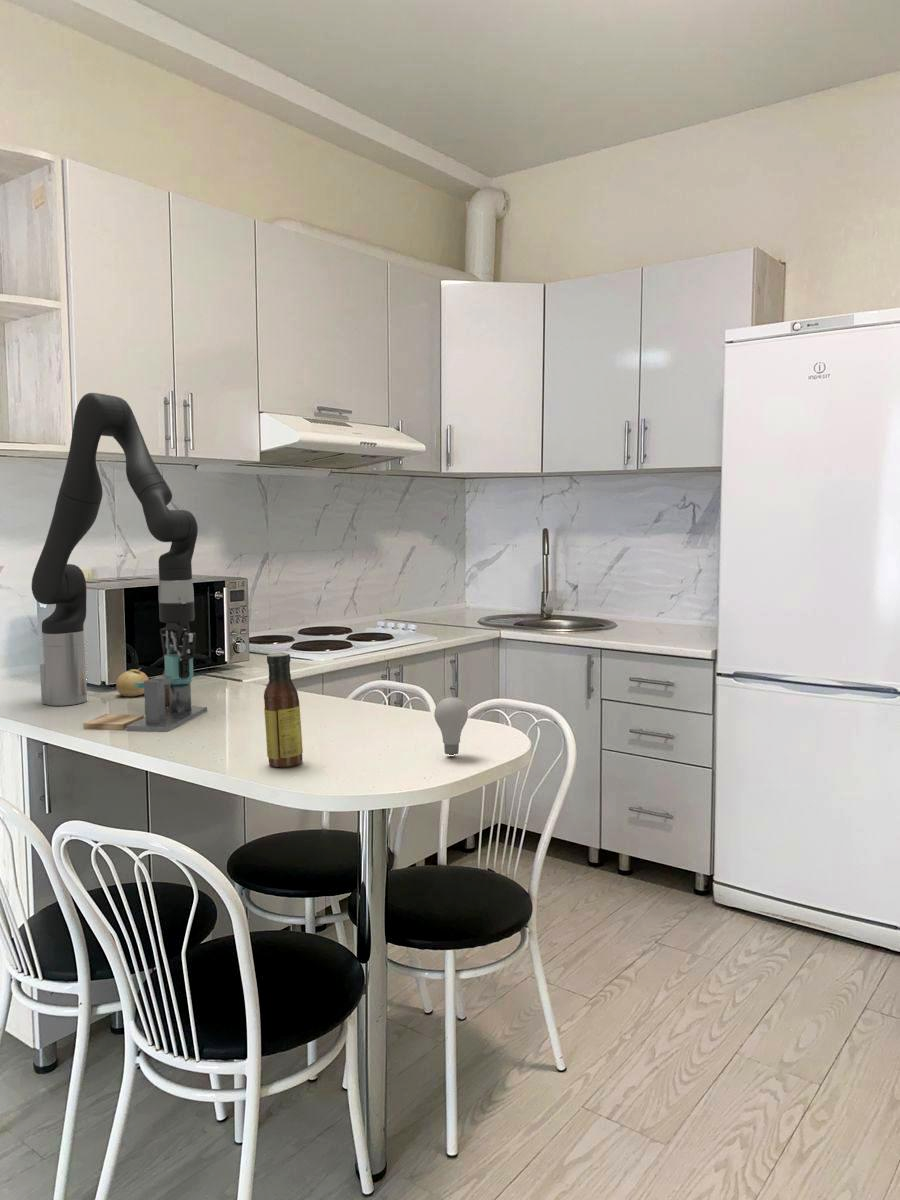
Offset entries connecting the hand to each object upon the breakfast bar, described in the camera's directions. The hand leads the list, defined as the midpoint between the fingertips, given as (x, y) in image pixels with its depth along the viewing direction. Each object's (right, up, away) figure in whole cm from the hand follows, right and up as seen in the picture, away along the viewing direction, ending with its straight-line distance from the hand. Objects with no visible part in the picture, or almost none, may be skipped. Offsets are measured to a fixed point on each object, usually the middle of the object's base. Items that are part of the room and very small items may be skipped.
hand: (179, 675), depth 205 cm
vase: (-5, -8, +12) cm, 15 cm away
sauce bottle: (+31, -13, -41) cm, 53 cm away
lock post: (-1, -9, -5) cm, 11 cm away
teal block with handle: (-3, -2, -2) cm, 4 cm away
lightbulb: (+61, -12, -38) cm, 73 cm away
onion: (-19, -7, +24) cm, 31 cm away
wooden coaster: (-11, -10, -8) cm, 17 cm away
